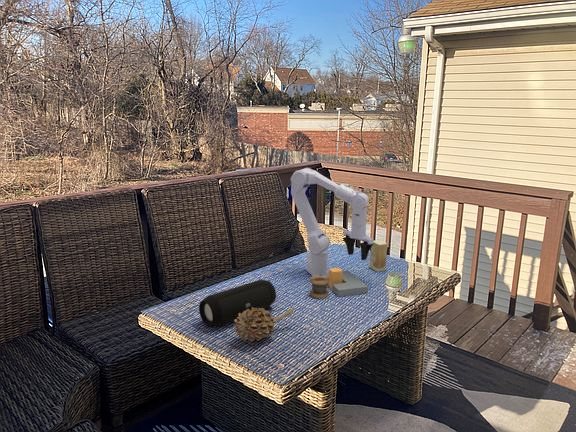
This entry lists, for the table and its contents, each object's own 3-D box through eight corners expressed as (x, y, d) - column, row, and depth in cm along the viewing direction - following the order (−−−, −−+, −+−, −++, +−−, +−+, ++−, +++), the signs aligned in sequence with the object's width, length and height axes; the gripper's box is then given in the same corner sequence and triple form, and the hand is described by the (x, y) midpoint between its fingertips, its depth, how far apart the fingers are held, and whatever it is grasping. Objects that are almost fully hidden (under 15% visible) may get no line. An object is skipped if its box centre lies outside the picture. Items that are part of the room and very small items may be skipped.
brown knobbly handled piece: (247, 354, 128) (247, 321, 126) (227, 341, 135) (226, 310, 133) (302, 328, 143) (302, 299, 141) (281, 318, 150) (281, 290, 148)
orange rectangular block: (328, 285, 178) (328, 268, 176) (337, 284, 179) (338, 267, 177) (332, 289, 174) (332, 272, 173) (341, 288, 175) (342, 271, 174)
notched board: (320, 279, 184) (320, 273, 184) (347, 276, 188) (347, 270, 187) (338, 296, 167) (338, 290, 167) (367, 292, 171) (368, 286, 170)
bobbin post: (307, 291, 172) (307, 276, 170) (324, 289, 174) (324, 274, 172) (313, 299, 165) (314, 283, 164) (331, 296, 167) (332, 281, 166)
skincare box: (368, 267, 198) (370, 240, 195) (377, 266, 200) (378, 239, 197) (377, 272, 192) (379, 244, 190) (386, 270, 194) (387, 243, 191)
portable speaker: (215, 333, 140) (214, 303, 137) (197, 322, 147) (196, 293, 144) (277, 309, 157) (278, 282, 154) (259, 300, 164) (259, 274, 161)
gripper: (338, 221, 183) (337, 253, 186) (364, 229, 171) (362, 263, 174) (351, 219, 187) (350, 251, 190) (377, 227, 175) (375, 260, 178)
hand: (357, 257), depth 182 cm, fingers open, 7 cm apart
